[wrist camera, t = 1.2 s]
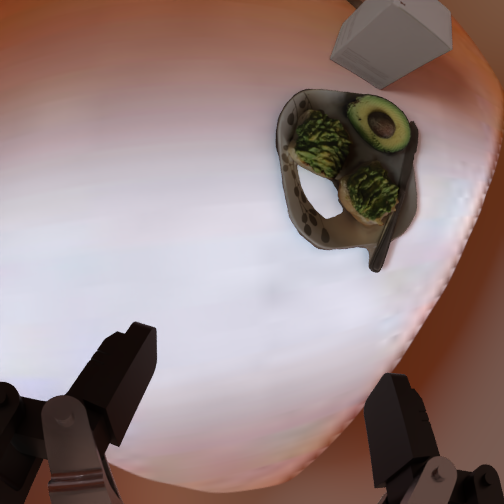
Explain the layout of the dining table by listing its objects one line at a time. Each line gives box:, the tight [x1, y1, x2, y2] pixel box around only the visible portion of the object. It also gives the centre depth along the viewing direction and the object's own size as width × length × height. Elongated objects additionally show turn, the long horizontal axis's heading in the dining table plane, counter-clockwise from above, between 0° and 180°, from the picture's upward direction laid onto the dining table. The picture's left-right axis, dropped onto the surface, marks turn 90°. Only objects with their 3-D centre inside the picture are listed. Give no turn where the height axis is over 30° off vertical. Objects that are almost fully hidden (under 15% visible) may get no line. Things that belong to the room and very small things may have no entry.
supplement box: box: [330, 0, 452, 89], centre depth 22 cm, size 7×7×13 cm
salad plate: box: [276, 89, 418, 273], centre depth 28 cm, size 19×18×5 cm
